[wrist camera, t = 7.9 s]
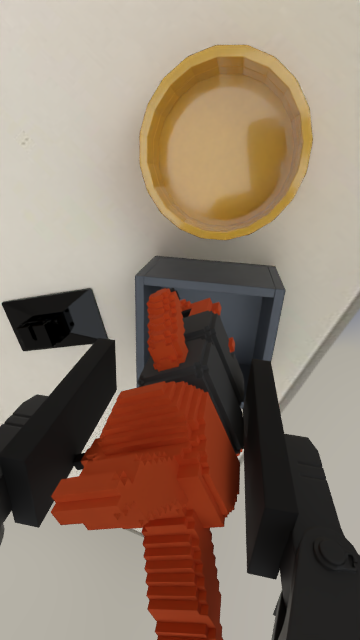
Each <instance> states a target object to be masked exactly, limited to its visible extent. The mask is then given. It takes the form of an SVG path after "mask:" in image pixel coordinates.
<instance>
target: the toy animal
mask: <svg viewBox="0 0 360 640" xmlns="http://www.w3.org/2000/svg"><path fill="white" fill-rule="evenodd" d="M179 300H180V297H179V294H178V292H177V290H176V291H175V289H174V288H171V289H169V288H168V289H166V288H164V289H161V290H158V291H157V292H156V293H153V294H151V295H150V297H149V301H148V302H147V303H146V304H147V306H148V309H147V311H148V313H149V315H148V318H149V320H150V321H149V323H148V324H147V327H148V329H149V331H148V334H149V336H150V337H149V339H148V341H147V343H148V345H149V347H148V351H149V353H150V357H149V359H148V361H147V363H146V365H145V367H144V369H143V371H142V372H141V374H140V376H139V379H138V381H137V383H138V385H139V387H138V388H134V389H130V390H126V391H122V392H121V393H120V394H119V396H118V398H117V402H116V403H115V405H114V407H113V409H112V412H111V414H110V416H109V417H108V419H107V423H106V425H105V426H104V428H103V430H102V433H101V435H100V438H98V439H95V440H94V442H93V444H92V446H91V447H90V448H89V449H87V451H86V453H82V454H77V456H76V457H75V459H74V461H73V465H74V466H75V468H76V469H77V470H81V469H83V470H82V472H81V474H80V476H79V477H72V478H67V479H61V481H60V482H59V484H58V486H57V487H56V489H55V491H54V492H53V494H52V496H51V497H52V498H53V500H54V501H55V502H56V504H55V506H54V507H53V509H52V511H51V513H52V514H53V516H54V517H55V518H56V520H57V521H58V522H59V523H60V525H68V524H80V523H83V524H84V525H85V527H86V528H87V529H88V530H98V529H111V528H123V529H130V528H143V529H142V533H143V535H144V536H145V537H144V541H143V546H144V547H145V553H144V558H145V559H146V565H145V571H146V572H147V578H146V584H147V585H148V586H149V587H148V591H147V597H148V598H149V605H148V611H149V612H150V613H151V615H152V616H153V617H154V619H155V620H156V621H157V624H156V629H155V632H156V634H157V635H158V639H157V640H223V638H222V626H221V624H220V607H221V594H220V592H219V581H218V579H217V568H216V566H215V559H216V558H215V556H214V554H213V549H214V545H213V543H212V542H211V540H212V533H211V531H210V528H211V527H224V521H225V517H227V515H228V514H229V512H232V510H234V505H235V502H237V494H239V480H240V462H239V460H238V458H237V456H239V455H240V452H242V449H244V419H243V413H242V411H241V408H240V406H241V402H244V379H243V374H242V372H241V369H240V366H239V364H238V361H237V359H236V356H235V354H234V353H233V354H231V352H234V351H235V341H234V339H233V337H232V338H228V336H227V333H226V331H225V328H224V326H223V323H222V321H221V318H220V316H219V315H220V313H221V305H220V303H219V302H217V303H213V304H212V301H211V299H210V298H207V299H204V300H201V301H198V302H195V303H192V304H191V303H190V301H187V302H186V300H185V299H183V300H180V301H179Z"/></svg>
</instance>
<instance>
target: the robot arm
mask: <svg viewBox="0 0 360 640" xmlns="http://www.w3.org/2000/svg"><path fill="white" fill-rule="evenodd" d="M116 390H117V386H116V356H115V340H110V339H103V338H98V339H97V340H96V342H95V343H94V344H93V345H92V346H91V347H90V349H89V350H88V351H87V352H86V353H85V354H84V356H83V357H82V358H81V359H80V360H79V361H78V363H77V364H76V365H75V366H74V367H73V368H72V370H71V371H70V372H69V373H68V374H67V375H66V377H65V378H64V379H63V380H62V381H61V382H60V384H59V385H58V386H57V387H56V388H55V389H54V391H53V392H52V393H51V394H50V395H49V396H43V395H35V396H33V397H32V398H30V399H28V400H27V401H25V402H23V403H22V404H21V405H20V406H19V407H18V409H17V410H16V411H15V412H14V413H13V415H11V416H10V417H9V418H8V419H7V420H6V421H5V424H2V425H1V426H0V545H1V542H2V539H3V535H4V525H3V522H4V521H5V519H6V518H7V517H8V515H9V514H10V512H11V511H12V513H13V516H14V520H15V523H20V524H25V525H30V526H34V527H40V525H41V523H42V521H43V519H44V518H45V516H46V514H47V512H48V511H49V509H50V507H51V505H52V503H53V502H54V500H53V498H52V497H51V496H52V494H53V492H54V491H55V489H56V487H57V486H58V484H59V482H60V481H61V479H67V477H68V475H69V473H70V472H71V470H72V468H73V466H74V465H73V461H74V459H75V457H76V456H77V454H81V452H82V450H83V449H84V447H85V445H86V443H87V442H88V440H89V438H90V436H91V434H92V433H93V431H94V429H95V427H96V426H97V424H98V422H99V420H100V418H101V417H102V415H103V413H104V411H105V410H106V408H107V406H108V404H109V403H110V401H111V399H112V397H113V395H114V394H115V392H116ZM243 419H244V471H245V510H246V545H247V546H246V547H247V573H249V574H254V575H258V576H263V577H267V578H272V579H276V578H277V576H278V573H279V570H280V573H281V583H282V592H281V594H280V597H279V600H278V602H277V605H276V608H275V610H274V613H273V615H275V616H276V617H275V624H274V629H273V635H272V640H360V555H358V553H357V552H356V550H355V548H354V547H353V545H352V544H351V543H350V542H349V541H348V540H347V539H346V538H345V536H344V534H343V532H342V529H341V527H340V523H339V520H338V517H337V513H336V510H335V506H334V504H333V500H332V496H331V493H330V490H329V486H328V483H327V481H326V476H325V473H324V470H323V468H322V463H321V460H320V456H319V453H318V450H317V449H316V448H315V446H314V445H313V444H312V442H311V441H310V440H309V438H307V437H301V436H295V435H289V434H284V431H283V425H282V420H281V414H280V409H279V404H278V398H277V393H276V388H275V382H274V377H273V371H272V366H271V361H266V360H258V359H252V362H251V368H250V373H249V379H248V384H247V389H246V395H245V400H244V406H243Z"/></svg>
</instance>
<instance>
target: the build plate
mask: <svg viewBox="0 0 360 640" xmlns="http://www.w3.org/2000/svg"><path fill="white" fill-rule="evenodd" d="M2 306H3V308H4V310H5V312H6V315H7V317H8V319H9V321H10V324H11V326H12V328H13V330H14V333H15V335H16V337H17V339H18V341H19V344H20V346H21V348H22V350H23V351H31V350H40V349H49V348H58V347H67V346H76V345H85V344H92V345H93V344H94V343H95V342H96V340H97V339H98V338H103V339H108V337H107V334H106V331H105V328H104V325H103V322H102V319H101V316H100V313H99V310H98V307H97V304H96V300H95V297H94V294H93V291H92V289H90V288H89V289H82V290H76V291H70V292H63V293H57V294H50V295H44V296H37V297H31V298H25V299H18V300H12V301H5V302H3V303H2Z"/></svg>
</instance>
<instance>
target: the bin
mask: <svg viewBox="0 0 360 640" xmlns="http://www.w3.org/2000/svg"><path fill="white" fill-rule="evenodd" d="M164 288H166V289H168V288H169V289H171V288H174V289H175V291H176V290H177V292H178V294H179V297H180V300H183V299H185V300H186V302H187V301H190V303H191V304H192V303H195V302H198V301H201V300H204V299H207V298H210V299H211V301H212V304H213V303H217V302H219V303H220V305H221V313H220V315H219V316H220V318H221V321H222V323H223V326H224V328H225V331H226V333H227V336H228V338H232V337H233V339H234V341H235V351H234V352H231V354H233V353H234V354H235V356H236V359H237V361H238V364H239V366H240V369H241V372H242V374H243V379H244V400H245V395H246V389H247V384H248V379H249V373H250V368H251V362H252V359H258V360H266V361H271V360H272V355H273V350H274V345H275V340H276V335H277V330H278V325H279V320H280V315H281V310H282V305H283V300H284V295H285V288H284V286H283V283H282V281H281V279H280V276H279V274H278V272H277V270H276V267H275V266H266V265H255V264H243V263H232V262H220V261H209V260H197V259H186V258H174V257H162V256H155V257H154V258H153V259H152V260H151V261H150V262H149V263H148V264H147V265H146V266H145V267H143V268H142V269H141V270H140V271H139V272H138V273H137V274H136V275H135V304H136V372H137V381H138V379H139V376H140V374H141V372H142V371H143V369H144V367H145V365H146V363H147V361H148V359H149V357H150V353H149V351H148V347H149V345H148V343H147V341H148V339H149V337H150V336H149V334H148V331H149V329H148V327H147V324H148V323H149V321H150V320H149V318H148V315H149V313H148V311H147V309H148V306H147V304H146V303H147V302H148V301H149V297H150V295H151V294H153V293H156V292H157V291H158V290H161V289H164ZM180 300H179V301H180ZM138 387H139V385H138V383H137V388H138ZM243 406H244V402H241V406H240V408H241V409H243Z"/></svg>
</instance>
